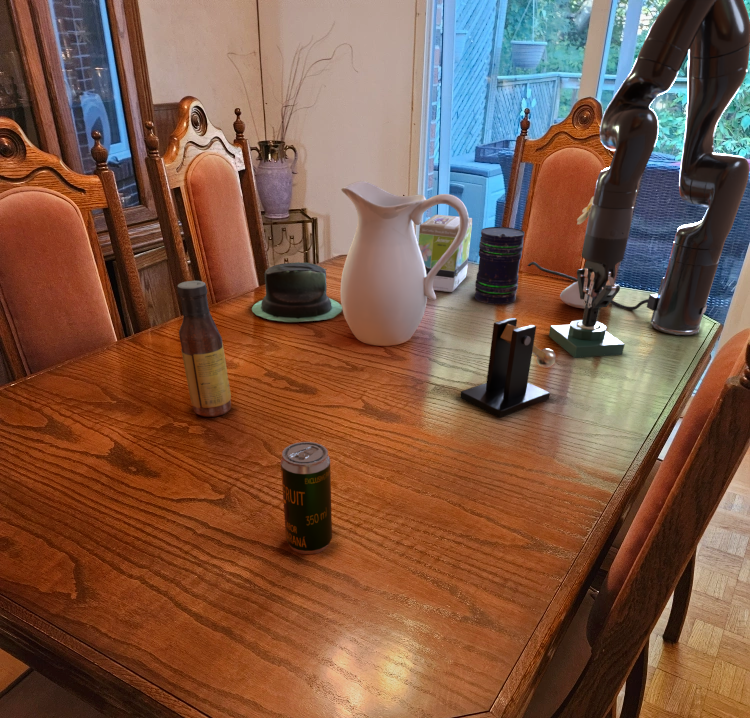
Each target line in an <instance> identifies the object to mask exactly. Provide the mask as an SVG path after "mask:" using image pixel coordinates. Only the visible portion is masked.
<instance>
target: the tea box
mask: <svg viewBox="0 0 750 718" xmlns="http://www.w3.org/2000/svg"><path fill="white" fill-rule="evenodd" d="M459 226H460V217H459V216H455V215H454V216H453V215H445V214H434V215H433V216H431V217H430V218H428V219H426V220H425V221H424V222H423V223H422V222H421V223H420V224H419V232H418V245H419V248H420V251H421V254H422V257H423V261H424V265H425V269H426V275H427V274H428V273H429V272H430V270H431V269H432V268H433V266H434V265H435V264H436V263H437V262H438V260H439V259H440V258H441V257H442V255H443V254H444V253H445V252H446V251H447V249H448V248H449V247H450V245H451V244H452V242H453V241H454V239H455V237H456V235H457V233H458V230H459ZM472 229H473V217H469V224H468V230H467V233H466V236H465V238H464V240H463V241H462V243H461V244H460V246H459V247H458V249H457V250H456V251H455V252H454V254H453V255H452V256H451V257H450V258H449V259H448V260H447V262H446V263H445V264H444V265H443V266H442V267H441V269H440V270H439V271H438V273H437V274H436V276H435V277H434V280H433V290H434V291H439V292H449V293H453V292H454V291H455V289H457V288H458V286H459V285H460V284H461V283H462V282H463V281H464V280H465V279H466V277H467V274H468V273H467V272H468V265H469V257H470V247H471V236H472Z"/></svg>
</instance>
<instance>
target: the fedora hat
mask: <svg viewBox="0 0 750 718" xmlns="http://www.w3.org/2000/svg"><path fill="white" fill-rule="evenodd" d="M327 270H328V269H327V268H324V267H322V266H320V265H318V264H315V263H311V262H299V261H298V262H285V263H279V264H274V265H272V266H270V267H268V268H267V269H266V270H265V271H264V273H263V275H264V285H265V286H264V287H265V296H264V297H263V298H262V299H261V300H259V301H257V302H256V303H254V304H253V306H252V307H251V311H252V313H253V314H254V315H256V316H257V317H261V318H263V319H267V320H269V321H277V322H284V323H299V322H313V321H314V322H315V321H323V320H324V321H325V320H331V319H334V318H335V317H337V316H338V315H340V314H341V313H342V312H343V310H342V304H341V303H339V302H338V301H337V300H335V299H332V298H330V297H329V296H328V295H327V287H328V285H327Z"/></svg>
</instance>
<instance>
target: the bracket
mask: <svg viewBox="0 0 750 718" xmlns="http://www.w3.org/2000/svg"><path fill="white" fill-rule="evenodd" d="M517 323H518V319H517V318H515V317H509V318H507V319H502V320H499V321H496V322H493V325H492V326H493V327H492V334H491V341H490V342H491V343H490V351H489V352H490V353H489V360H488V366H487V367H488V368H487V376H486V382H485V383H481V384H479V385H476V386H473V387H470V388H466V389H464V390H461V391H460V395H459V396H460V397H459V399H460V400H462V401H465V402H467V403H469V404H471V405H472V406H474V407H476V408H477V409H480V410H482V411H484V412H486V413H488V414H490V415H492V416H494V417H495V418H497V419H501V418H504V417H506V416H510V415H512V414H514V413H517V412H519V411H522V410H524V409H527V408H530V407H533V406H535V405H538V404H541V403H543V402H546V401H548V400H550V396H551V392H550V391H548V390H546V389H543V388H541V387H539V386H536V385H534V384H532V383H529V382H528V381H529V376H530V368H531V363H532V357H533V353H532V351H533V345H534V344H535V338H536V333H537V332H536V331H537V326H536V325H534V324H529V325H526V326H522V327H518V329H515V330H513V331H512V338H511V344H509V343H508V342H506V341H505V340H503V339H502V338H501V335H502V333H503V331H504V329H505V327H506V326H507V324H510V325H513V326H516V327H517ZM534 346H535V345H534Z"/></svg>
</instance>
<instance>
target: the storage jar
mask: <svg viewBox="0 0 750 718" xmlns="http://www.w3.org/2000/svg"><path fill="white" fill-rule="evenodd" d="M480 235H481V236H480V241H479V246H478V248H479V249H478V257H479V259H478V268H477V273H476V278H475V279H476V280H475V284H474V286H475V289H474V291H475V293H474V299H475V300H476V301H478V302H480V303H485V304H489V305H507V304H508V305H509V304H512V303H514V302H515V301H516V298H517V297H516V294H517V291H518V288H519V268H520V261H521V259H522V256H523V250H524V238H525V231H524V230H522V229H518V228H514V227H506V226H490V227H488V226H487V227H484V228H482V229H481V231H480Z"/></svg>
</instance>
